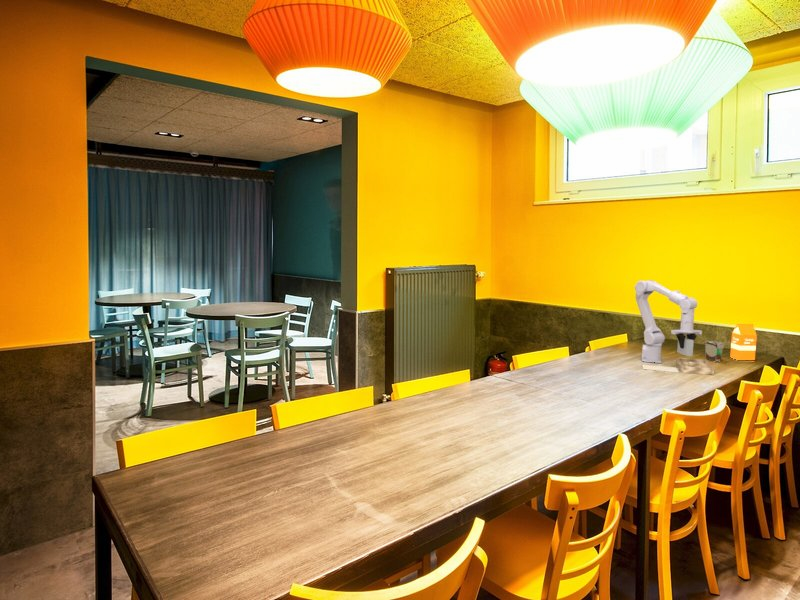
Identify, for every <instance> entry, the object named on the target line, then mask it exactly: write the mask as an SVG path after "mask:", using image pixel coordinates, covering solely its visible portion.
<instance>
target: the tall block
mask: <svg viewBox="0 0 800 600" xmlns="http://www.w3.org/2000/svg"><path fill="white" fill-rule="evenodd" d="M694 341H695V340H691V339H688V338H687V337H685V341H684V348H680V344H679V341H678V340H677V348H676V349H677V351H676V352H677V354H681V355H683V356H685V357H693V355H694V343H695V342H694Z"/></svg>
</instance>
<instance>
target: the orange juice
mask: <svg viewBox="0 0 800 600" xmlns="http://www.w3.org/2000/svg"><path fill="white" fill-rule="evenodd" d="M754 326H755V325H754V323H737V324H736V326H735V327H734V329H733V330H732V332H731V342H730V356H729V357H731V358H733V359H732V360H734V359H736V360H735V361H737V360H755V359H756V351H757V350H756V349H757V333H756V330H755V329H756V328H755V327H754ZM731 358H730V359H731Z"/></svg>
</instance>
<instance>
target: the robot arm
mask: <svg viewBox="0 0 800 600" xmlns="http://www.w3.org/2000/svg"><path fill="white" fill-rule="evenodd" d="M634 290H635V301H636V305H637V307H638V310H639V312H640V317H641V319H642V321H643V325H644V327H645V329H644V331H643V339H644V343H645V344H642V348H641V356H640V357H641V362H643V361H644V363H654V362H655V364H658V363H659V364H662V363H663V362H662V359H661V358H662V345H663V343H665V340H666V337H665V335H664V333H663V332H662V331H661V330H662V329H660V327H659V326H657V323H656V321H655V317H654V315H653V312H652V308H651V306H650V303H649V301H648V298H649V297H650V295H652V293H654V292H656V293H658V294H661V295H662V296H665V297H667V298H668V300H669V301H670V302H672V303H673V304H676V305H677V306H679V307H680V312H681V314H680V328H679V329H671V330H670V333H671V335H675V337H676V338H677V342H678V341H679V344H680V348H684V341H685V338H688V339H691V340H694V341H695V340H696V338H697V336H698V335H702V334H703V331H702V330H700V329H694V322H695V321H694V320H695V309H696V308H697V307H698V301H697V300H696V299H695V298H694V297H689V296H688V295H687V294H686V295H685V294H682V293H681V291H680V290H670V289H668V288H666V287H665V286H663V285H662V284H659V282H657V281H655V280H652V279H651V280H650V279H649V280H638V281H637V282H636V284H635V285H634Z"/></svg>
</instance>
